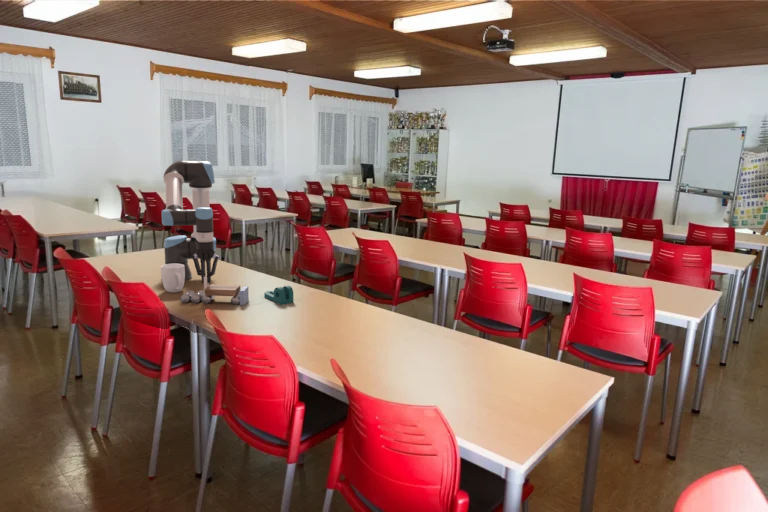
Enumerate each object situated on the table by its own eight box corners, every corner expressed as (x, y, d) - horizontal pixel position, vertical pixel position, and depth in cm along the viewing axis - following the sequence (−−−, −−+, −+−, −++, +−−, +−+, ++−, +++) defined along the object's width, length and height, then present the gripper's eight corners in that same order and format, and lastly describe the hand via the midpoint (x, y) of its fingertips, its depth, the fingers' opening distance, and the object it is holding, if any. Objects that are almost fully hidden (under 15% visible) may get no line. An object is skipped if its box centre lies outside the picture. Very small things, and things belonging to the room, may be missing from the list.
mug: (192, 293, 256) (191, 267, 253) (170, 296, 248) (169, 270, 246) (180, 286, 266) (179, 262, 264) (158, 290, 259) (157, 265, 256)
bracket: (293, 302, 247) (293, 287, 245) (281, 305, 242) (281, 289, 241) (273, 294, 260) (273, 279, 258) (261, 296, 255) (261, 281, 254)
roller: (244, 292, 247) (243, 300, 248) (235, 291, 247) (235, 299, 247) (239, 297, 239) (238, 305, 240) (231, 296, 239) (230, 304, 240)
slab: (211, 290, 247) (211, 284, 246) (240, 291, 247) (240, 285, 246) (205, 295, 238) (204, 289, 237) (235, 296, 238) (235, 290, 238)
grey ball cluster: (186, 298, 247) (186, 290, 246) (215, 299, 247) (215, 291, 247) (180, 302, 239) (179, 294, 239) (210, 304, 239) (209, 295, 239)
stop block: (244, 300, 247) (244, 286, 246) (248, 300, 247) (248, 286, 246) (239, 305, 240) (239, 290, 238) (244, 305, 240) (243, 290, 238)
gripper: (187, 241, 234) (189, 291, 238) (216, 242, 234) (217, 292, 238) (193, 238, 241) (195, 287, 246) (221, 239, 241) (222, 288, 246)
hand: (206, 289), depth 242 cm, fingers closed
